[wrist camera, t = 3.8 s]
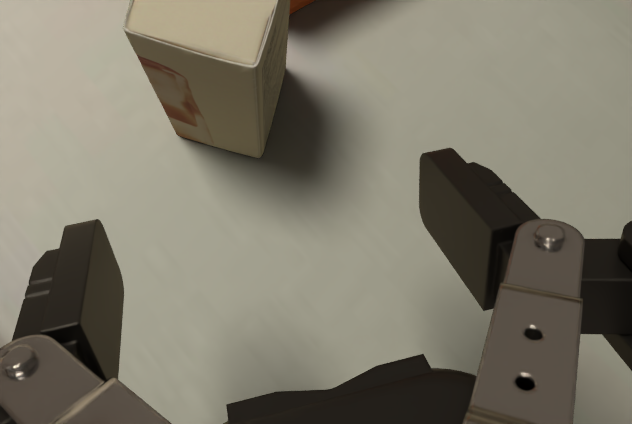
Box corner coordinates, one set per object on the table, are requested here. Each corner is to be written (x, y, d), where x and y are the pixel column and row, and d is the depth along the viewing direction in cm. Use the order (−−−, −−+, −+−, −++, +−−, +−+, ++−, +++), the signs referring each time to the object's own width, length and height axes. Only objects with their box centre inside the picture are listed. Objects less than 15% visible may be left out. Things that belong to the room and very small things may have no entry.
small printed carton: (201, 42, 27) (168, -117, 18) (288, 66, 28) (303, -77, 18) (169, 140, 26) (115, 29, 17) (260, 164, 27) (260, 69, 17)
